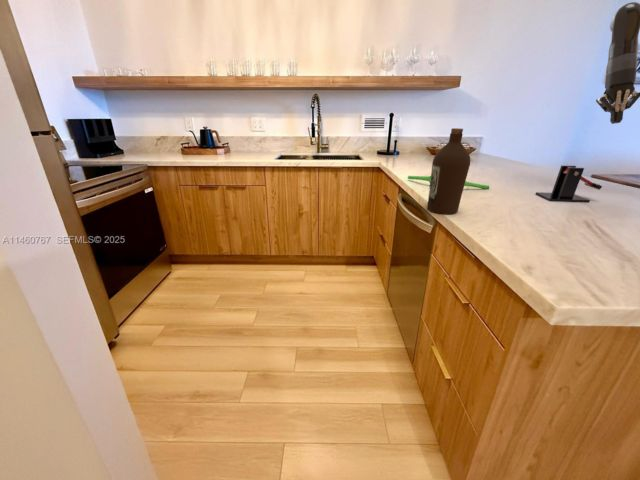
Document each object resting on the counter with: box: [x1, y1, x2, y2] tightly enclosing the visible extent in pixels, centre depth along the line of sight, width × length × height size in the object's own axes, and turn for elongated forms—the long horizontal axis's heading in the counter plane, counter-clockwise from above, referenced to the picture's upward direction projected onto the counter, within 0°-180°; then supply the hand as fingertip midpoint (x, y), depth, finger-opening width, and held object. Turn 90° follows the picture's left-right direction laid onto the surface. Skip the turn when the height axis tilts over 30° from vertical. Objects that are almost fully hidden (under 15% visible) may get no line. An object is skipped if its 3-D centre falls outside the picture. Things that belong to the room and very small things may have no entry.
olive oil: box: [426, 127, 471, 215], centre depth 89 cm, size 11×11×25 cm
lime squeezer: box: [407, 175, 490, 190], centre depth 121 cm, size 34×12×6 cm, turn 59°
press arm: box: [563, 167, 603, 190], centre depth 102 cm, size 12×6×2 cm, turn 83°
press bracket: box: [534, 165, 591, 204], centre depth 103 cm, size 13×9×12 cm
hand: (616, 123), depth 103 cm, fingers closed
